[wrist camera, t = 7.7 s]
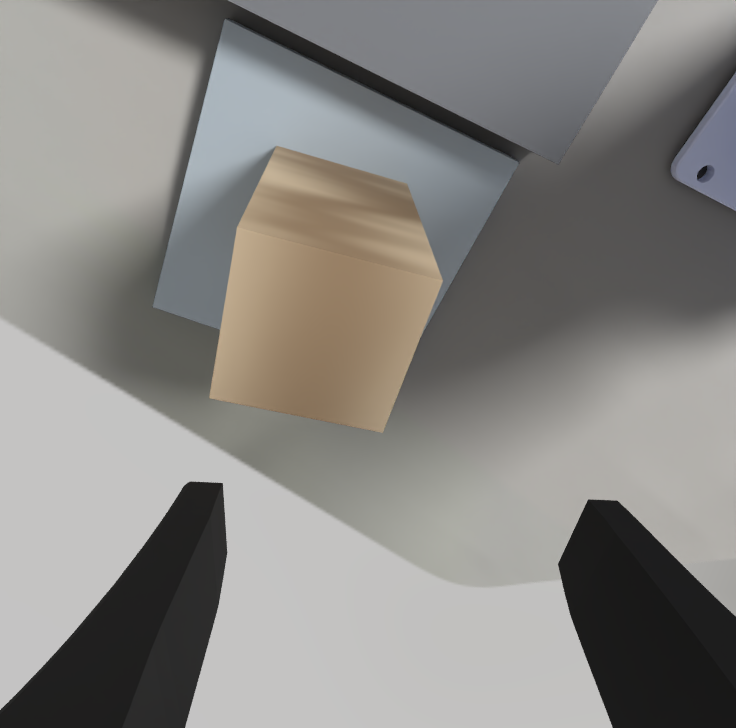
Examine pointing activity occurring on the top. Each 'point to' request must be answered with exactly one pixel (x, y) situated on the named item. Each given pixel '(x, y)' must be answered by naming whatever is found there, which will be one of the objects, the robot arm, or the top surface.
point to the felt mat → (319, 139)
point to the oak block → (324, 294)
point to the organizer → (481, 54)
